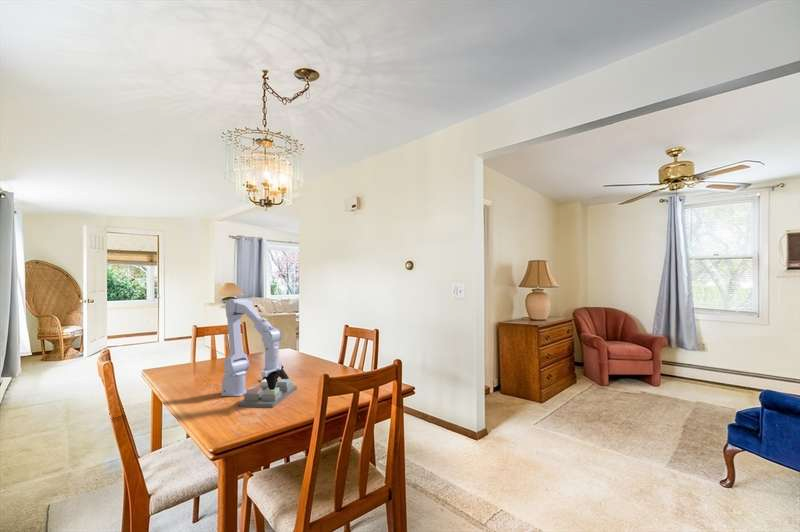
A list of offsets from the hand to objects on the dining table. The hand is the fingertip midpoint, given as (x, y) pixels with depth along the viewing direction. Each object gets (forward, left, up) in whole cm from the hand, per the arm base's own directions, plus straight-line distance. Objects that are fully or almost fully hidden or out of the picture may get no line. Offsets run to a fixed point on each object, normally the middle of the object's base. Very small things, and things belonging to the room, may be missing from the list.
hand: (271, 389), depth 159 cm
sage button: (0, 0, -2) cm, 2 cm away
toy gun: (-14, +31, -6) cm, 34 cm away
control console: (-4, +6, -6) cm, 9 cm away
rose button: (-8, 0, -2) cm, 8 cm away
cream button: (-8, +12, -2) cm, 15 cm away
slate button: (0, +12, -2) cm, 12 cm away
